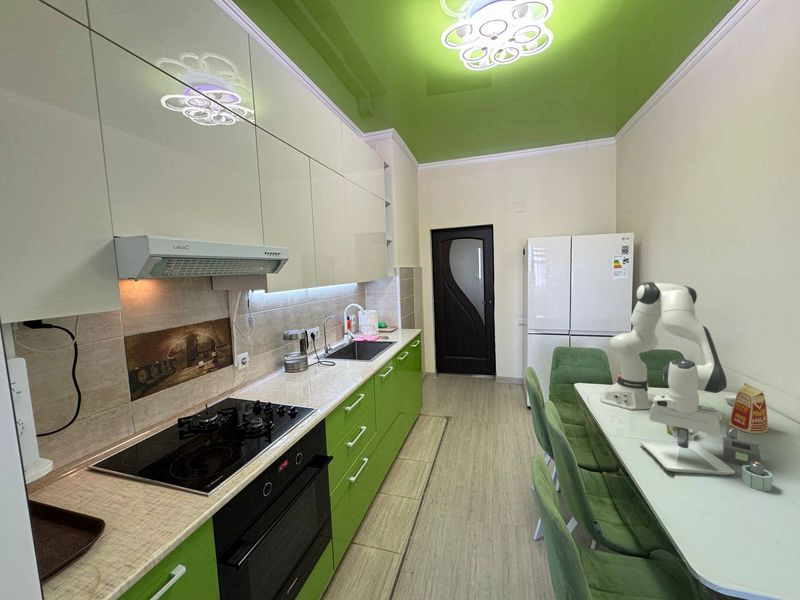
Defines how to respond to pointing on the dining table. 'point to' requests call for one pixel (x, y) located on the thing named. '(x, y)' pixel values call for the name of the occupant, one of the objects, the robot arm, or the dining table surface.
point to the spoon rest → (730, 399)
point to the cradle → (740, 451)
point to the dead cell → (757, 468)
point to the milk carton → (749, 410)
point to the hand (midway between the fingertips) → (682, 438)
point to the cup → (757, 479)
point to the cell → (682, 437)
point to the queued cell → (732, 433)
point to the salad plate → (669, 455)
